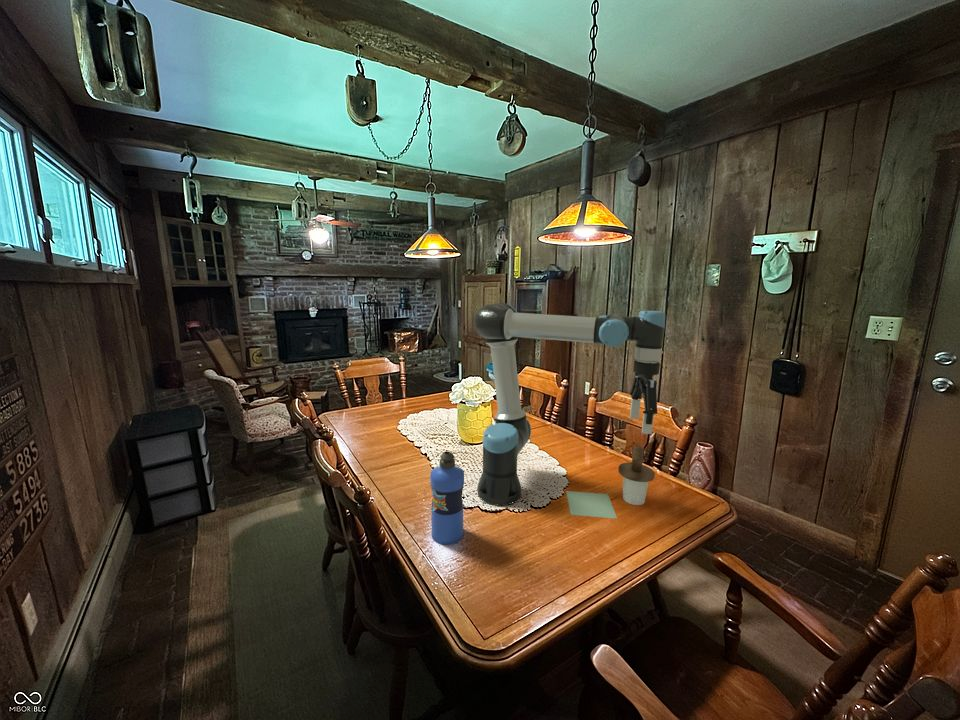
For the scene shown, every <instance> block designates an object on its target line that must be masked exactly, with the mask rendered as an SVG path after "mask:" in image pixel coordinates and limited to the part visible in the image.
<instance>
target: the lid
mask: <svg viewBox="0 0 960 720" xmlns="http://www.w3.org/2000/svg"><path fill="white" fill-rule="evenodd" d="M632 448H633V449H632V458H631V462H624V463H621V464H619V465H618V470H617V471H618V474H619V475H620V476H622V478H623V477H625V478H627V479H629V480H633V481H637V482H648V483H649V482H651V481H653V480H654V479H655V477H656V476H655V473H656V472H655V471H654V469H652V468H650V467H649V466H648V465H644V463H643V460H644V452H645V447H644V446H642V445H633V447H632Z"/></svg>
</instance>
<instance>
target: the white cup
mask: <svg viewBox="0 0 960 720" xmlns="http://www.w3.org/2000/svg"><path fill="white" fill-rule="evenodd" d="M648 485H649V482H637V481H633V480H629V479H627V478H625V477H623V476H622V498H623V500H624V501H625V502H626V503H627V504H631V505H634V506H642V505H644V504H645V502H646V497H647V491H648Z"/></svg>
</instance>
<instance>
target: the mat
mask: <svg viewBox="0 0 960 720" xmlns="http://www.w3.org/2000/svg"><path fill="white" fill-rule="evenodd" d="M565 492H566V498H567V503H568V509H569V512H570V516H580V517H581V516H582V517H592V518H593V517H594V518H605V519H615V520H617V519H618V517H617V514H616V511H615V509H614V507H613V504H612V502H611V499H610V496H609V494H608V493H597V492H588V491H587V492H583V491H571V490H570V491H569V490H566V491H565Z"/></svg>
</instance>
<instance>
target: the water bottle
mask: <svg viewBox="0 0 960 720" xmlns="http://www.w3.org/2000/svg"><path fill="white" fill-rule="evenodd" d="M439 458H440V459H439V466H437V467H434V468H433V469H432V470H431V471H430V475H429V476H430V480H429V481H430V482H429V483H430V487H431V494H432V501H431V509H430V511H431V513H430V515H431V516H430V517H431V538H432V540H433V542H435V543H436V544H439V545H444V546H449V545H454V544H456V543H459V542H460V541H461V540H462V539H463V537H464V503H463V492H464V491H463V490H464V485H465V471H464V470H463V468H462V467H460V466H457V465H456V459H455V455H454V454H453V452H451V451H448V450H446V451H444V452H443V453H441V455H440V456H439Z"/></svg>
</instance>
